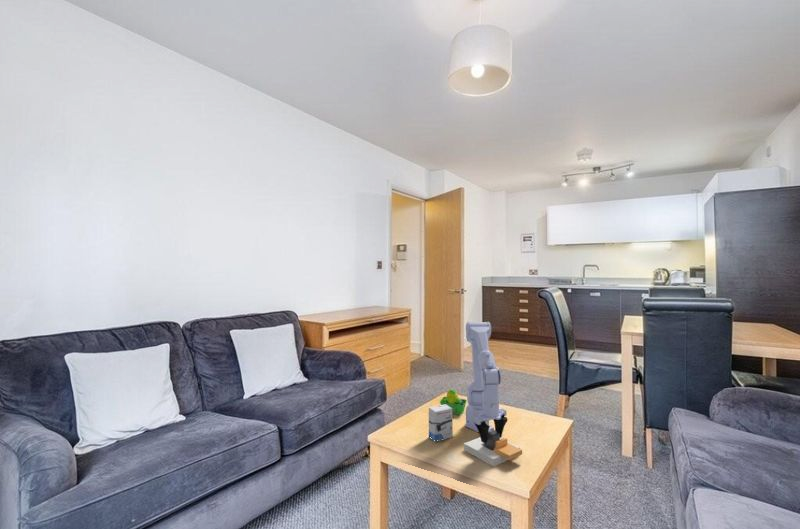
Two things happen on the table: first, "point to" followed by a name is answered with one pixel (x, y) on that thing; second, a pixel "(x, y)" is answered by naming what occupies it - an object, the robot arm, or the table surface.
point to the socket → (484, 452)
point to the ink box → (440, 422)
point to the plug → (492, 439)
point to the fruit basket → (454, 402)
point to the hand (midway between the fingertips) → (491, 439)
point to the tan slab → (507, 449)
